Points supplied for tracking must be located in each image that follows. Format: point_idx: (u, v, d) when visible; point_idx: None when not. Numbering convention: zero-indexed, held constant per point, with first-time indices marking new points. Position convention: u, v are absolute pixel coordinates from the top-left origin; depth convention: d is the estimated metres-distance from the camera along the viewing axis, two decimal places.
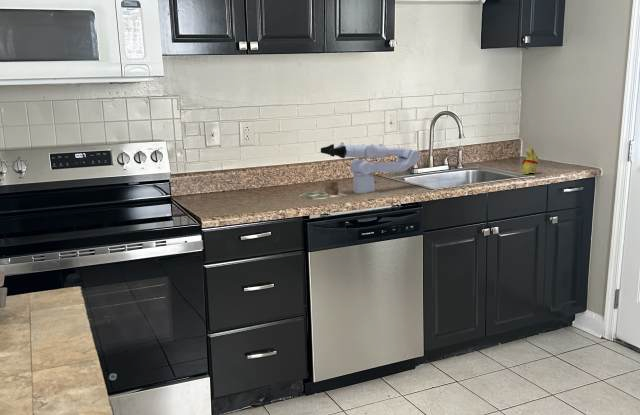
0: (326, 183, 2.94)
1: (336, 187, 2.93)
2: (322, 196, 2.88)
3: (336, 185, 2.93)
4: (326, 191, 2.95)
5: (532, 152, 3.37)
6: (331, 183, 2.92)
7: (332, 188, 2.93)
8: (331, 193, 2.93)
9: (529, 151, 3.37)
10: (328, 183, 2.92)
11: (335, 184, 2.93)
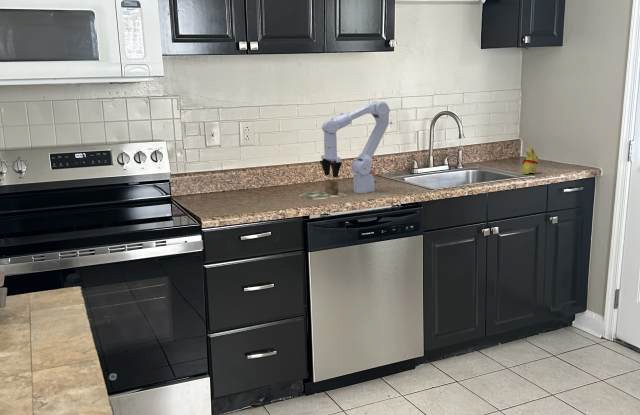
0: (326, 183, 2.94)
1: (336, 187, 2.93)
2: (322, 196, 2.88)
3: (336, 185, 2.93)
4: (326, 191, 2.95)
5: (532, 152, 3.37)
6: (331, 183, 2.92)
7: (332, 188, 2.93)
8: (331, 193, 2.93)
9: (529, 151, 3.37)
10: (328, 183, 2.92)
11: (335, 184, 2.93)
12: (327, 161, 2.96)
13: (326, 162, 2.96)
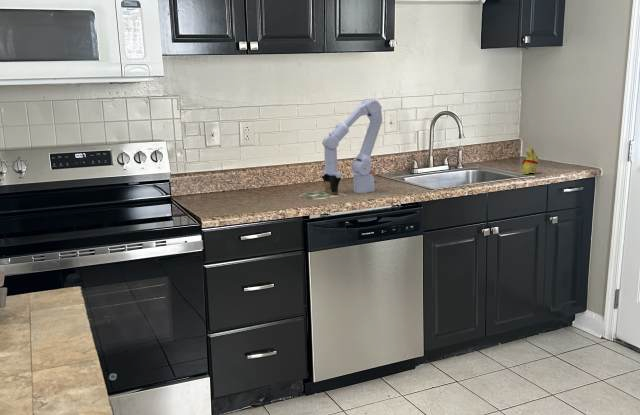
0: (326, 183, 2.94)
1: None
2: (322, 196, 2.88)
3: None
4: (326, 191, 2.95)
5: (532, 152, 3.37)
6: None
7: None
8: (331, 193, 2.93)
9: (529, 151, 3.37)
10: (328, 183, 2.92)
11: None
12: (329, 176, 2.96)
13: (328, 177, 2.96)
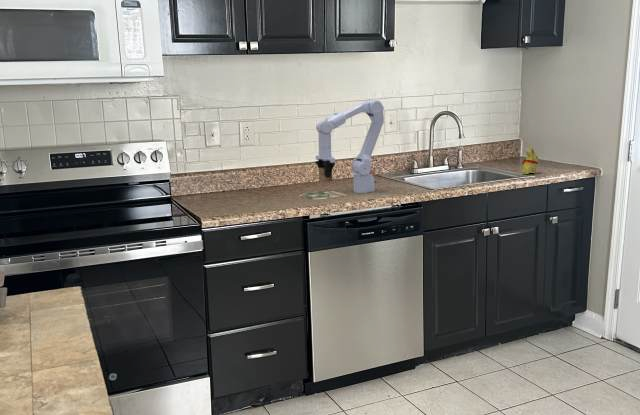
0: (320, 169, 2.91)
1: None
2: (322, 196, 2.88)
3: None
4: (320, 177, 2.92)
5: (532, 152, 3.37)
6: None
7: None
8: (325, 179, 2.90)
9: (529, 151, 3.37)
10: (322, 169, 2.90)
11: None
12: (323, 162, 2.93)
13: (322, 163, 2.93)
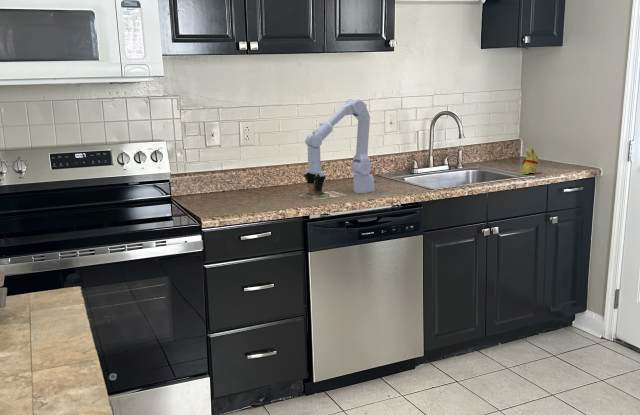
0: (310, 185, 2.90)
1: None
2: (322, 196, 2.88)
3: None
4: (310, 193, 2.91)
5: (532, 152, 3.37)
6: (315, 185, 2.88)
7: (316, 190, 2.88)
8: (315, 195, 2.89)
9: (529, 151, 3.37)
10: (312, 185, 2.88)
11: None
12: (311, 175, 2.93)
13: (310, 176, 2.92)
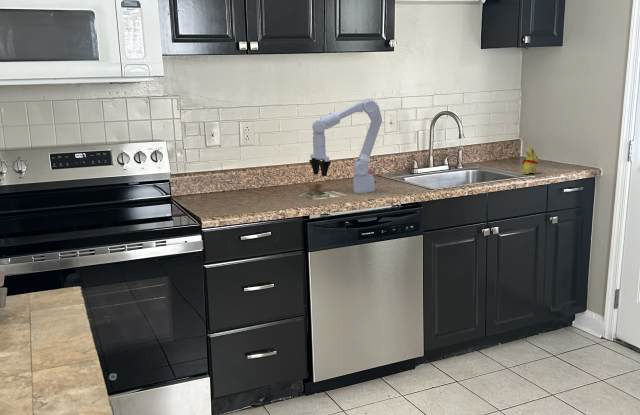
0: (310, 185, 2.90)
1: (320, 189, 2.89)
2: (322, 196, 2.88)
3: (320, 187, 2.89)
4: (310, 193, 2.91)
5: (532, 152, 3.37)
6: (315, 185, 2.88)
7: (316, 190, 2.88)
8: (315, 195, 2.89)
9: (529, 151, 3.37)
10: (312, 185, 2.88)
11: (319, 186, 2.89)
12: (316, 160, 3.00)
13: (315, 161, 3.00)
